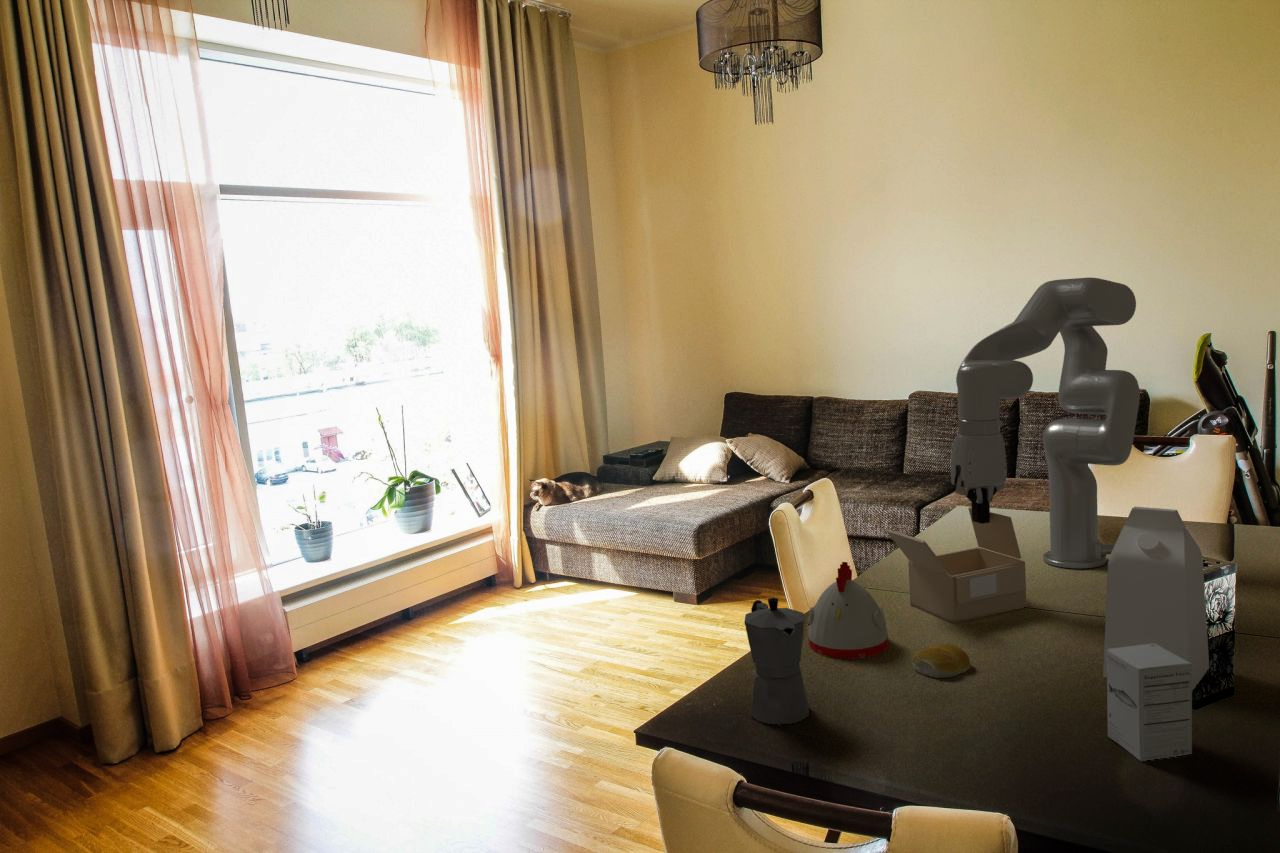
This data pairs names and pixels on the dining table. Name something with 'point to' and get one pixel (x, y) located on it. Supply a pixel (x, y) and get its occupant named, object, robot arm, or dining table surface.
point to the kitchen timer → (847, 620)
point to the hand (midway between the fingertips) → (980, 521)
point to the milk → (1157, 589)
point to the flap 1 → (917, 551)
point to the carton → (969, 585)
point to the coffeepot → (776, 663)
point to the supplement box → (1149, 701)
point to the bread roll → (941, 661)
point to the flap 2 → (997, 535)
